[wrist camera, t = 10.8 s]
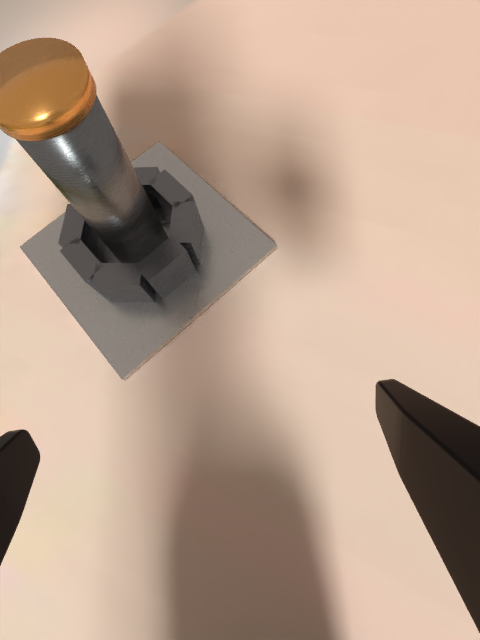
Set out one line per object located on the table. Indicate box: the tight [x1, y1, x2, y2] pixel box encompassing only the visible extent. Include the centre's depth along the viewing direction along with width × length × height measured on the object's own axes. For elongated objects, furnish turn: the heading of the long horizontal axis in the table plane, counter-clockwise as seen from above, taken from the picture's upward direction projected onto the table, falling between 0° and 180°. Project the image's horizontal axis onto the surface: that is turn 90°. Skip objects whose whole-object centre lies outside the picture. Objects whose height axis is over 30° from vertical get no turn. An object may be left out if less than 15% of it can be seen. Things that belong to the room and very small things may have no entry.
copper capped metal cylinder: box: [0, 38, 168, 263], centre depth 20 cm, size 4×4×13 cm
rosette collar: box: [20, 141, 277, 380], centre depth 25 cm, size 14×14×4 cm
